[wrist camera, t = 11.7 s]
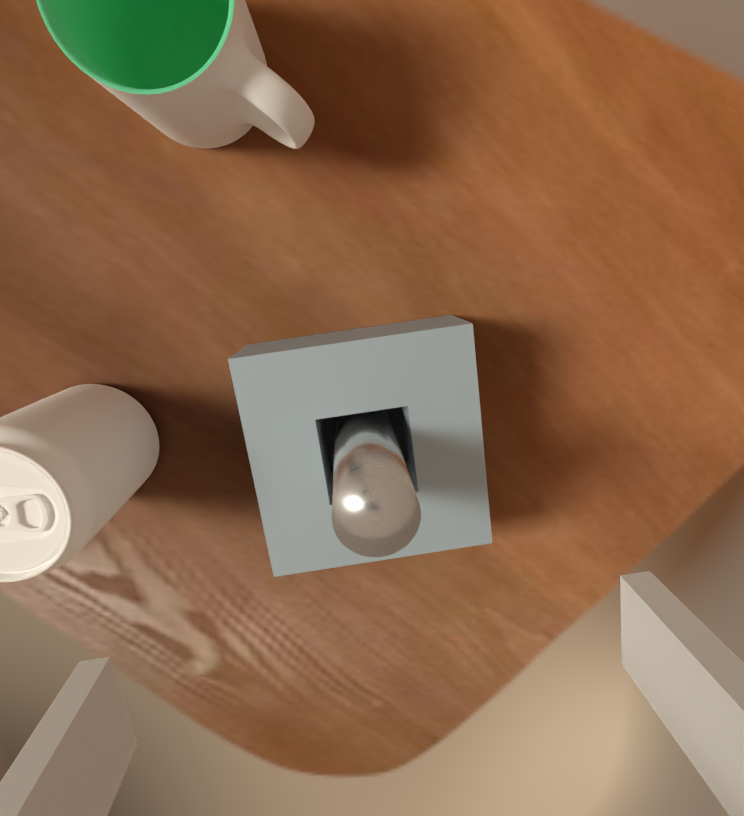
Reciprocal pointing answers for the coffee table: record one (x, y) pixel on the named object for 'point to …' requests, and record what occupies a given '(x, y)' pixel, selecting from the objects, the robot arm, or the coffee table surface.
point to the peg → (372, 487)
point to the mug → (182, 67)
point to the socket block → (357, 393)
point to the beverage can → (68, 473)
